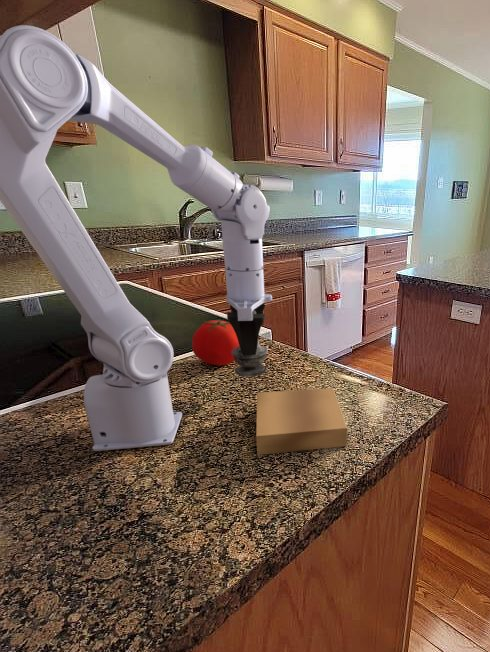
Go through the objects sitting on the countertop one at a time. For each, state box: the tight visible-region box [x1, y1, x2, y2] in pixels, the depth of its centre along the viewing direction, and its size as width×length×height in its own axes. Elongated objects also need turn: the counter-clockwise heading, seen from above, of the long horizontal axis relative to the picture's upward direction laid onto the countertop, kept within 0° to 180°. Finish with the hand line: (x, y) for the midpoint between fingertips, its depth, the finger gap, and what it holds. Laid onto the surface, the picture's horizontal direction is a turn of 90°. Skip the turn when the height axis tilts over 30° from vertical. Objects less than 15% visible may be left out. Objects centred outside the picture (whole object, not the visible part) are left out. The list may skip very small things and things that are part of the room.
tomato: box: [191, 319, 239, 367], centre depth 77 cm, size 9×10×8 cm
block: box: [255, 387, 348, 456], centre depth 58 cm, size 12×12×3 cm
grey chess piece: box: [231, 310, 268, 378], centre depth 66 cm, size 6×6×12 cm
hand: (249, 349), depth 67 cm, fingers closed on grey chess piece, 4 cm apart
